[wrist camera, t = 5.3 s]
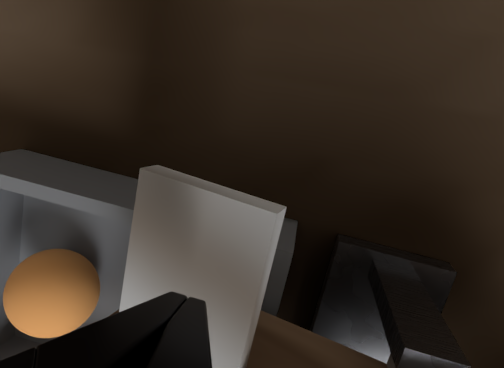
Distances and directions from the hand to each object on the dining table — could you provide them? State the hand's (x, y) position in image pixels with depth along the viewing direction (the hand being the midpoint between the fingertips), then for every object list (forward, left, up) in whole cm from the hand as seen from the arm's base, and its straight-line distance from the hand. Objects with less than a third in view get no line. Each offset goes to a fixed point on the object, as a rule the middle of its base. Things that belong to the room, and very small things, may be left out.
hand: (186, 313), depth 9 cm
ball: (-6, +8, -7) cm, 12 cm away
